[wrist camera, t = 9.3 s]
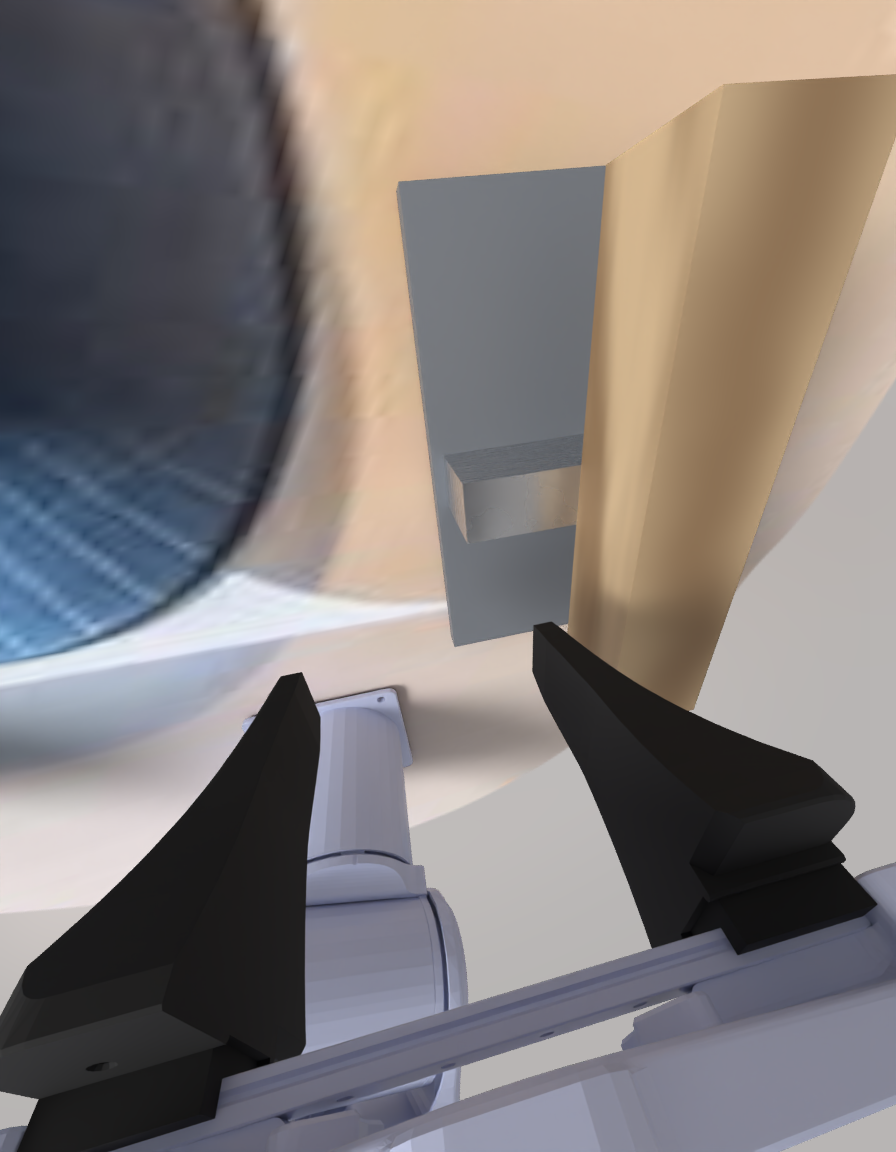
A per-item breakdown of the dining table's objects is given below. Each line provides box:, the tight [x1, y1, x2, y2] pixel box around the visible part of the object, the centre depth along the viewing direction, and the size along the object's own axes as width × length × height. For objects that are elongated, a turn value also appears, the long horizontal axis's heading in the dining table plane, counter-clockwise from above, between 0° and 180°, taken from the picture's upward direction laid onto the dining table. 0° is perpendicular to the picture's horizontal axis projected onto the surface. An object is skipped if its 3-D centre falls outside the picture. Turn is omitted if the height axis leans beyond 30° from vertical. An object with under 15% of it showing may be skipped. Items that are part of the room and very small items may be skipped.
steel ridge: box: [443, 434, 584, 544], centre depth 17 cm, size 13×2×4 cm, turn 96°
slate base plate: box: [396, 166, 606, 647], centre depth 19 cm, size 14×20×1 cm
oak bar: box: [568, 74, 896, 711], centre depth 14 cm, size 4×18×4 cm, turn 6°
